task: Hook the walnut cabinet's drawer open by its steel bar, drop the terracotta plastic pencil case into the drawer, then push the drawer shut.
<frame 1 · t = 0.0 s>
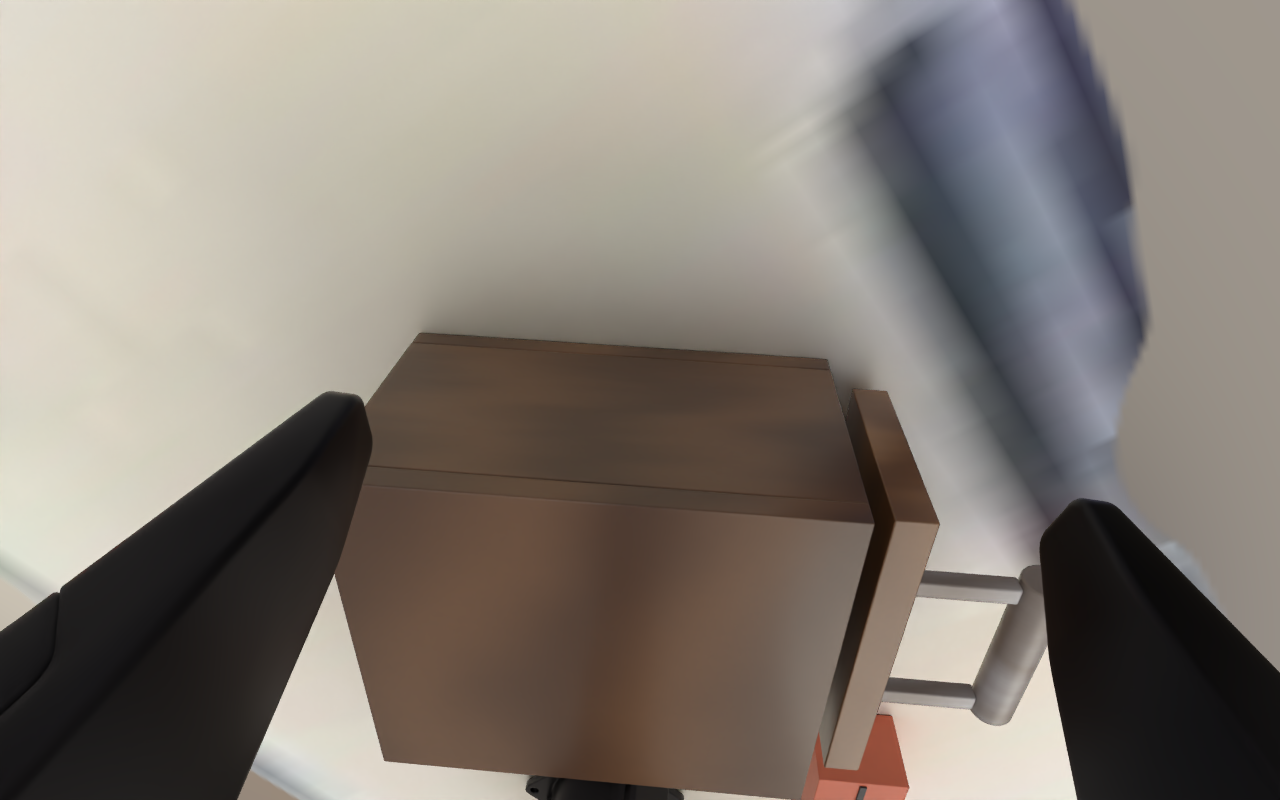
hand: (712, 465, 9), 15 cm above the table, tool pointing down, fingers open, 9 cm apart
drawer: (745, 571, 25), point 4 cm above the table, slide at 0.8 cm
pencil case: (838, 754, 38), on the table
cabinet: (617, 484, 29), on the table
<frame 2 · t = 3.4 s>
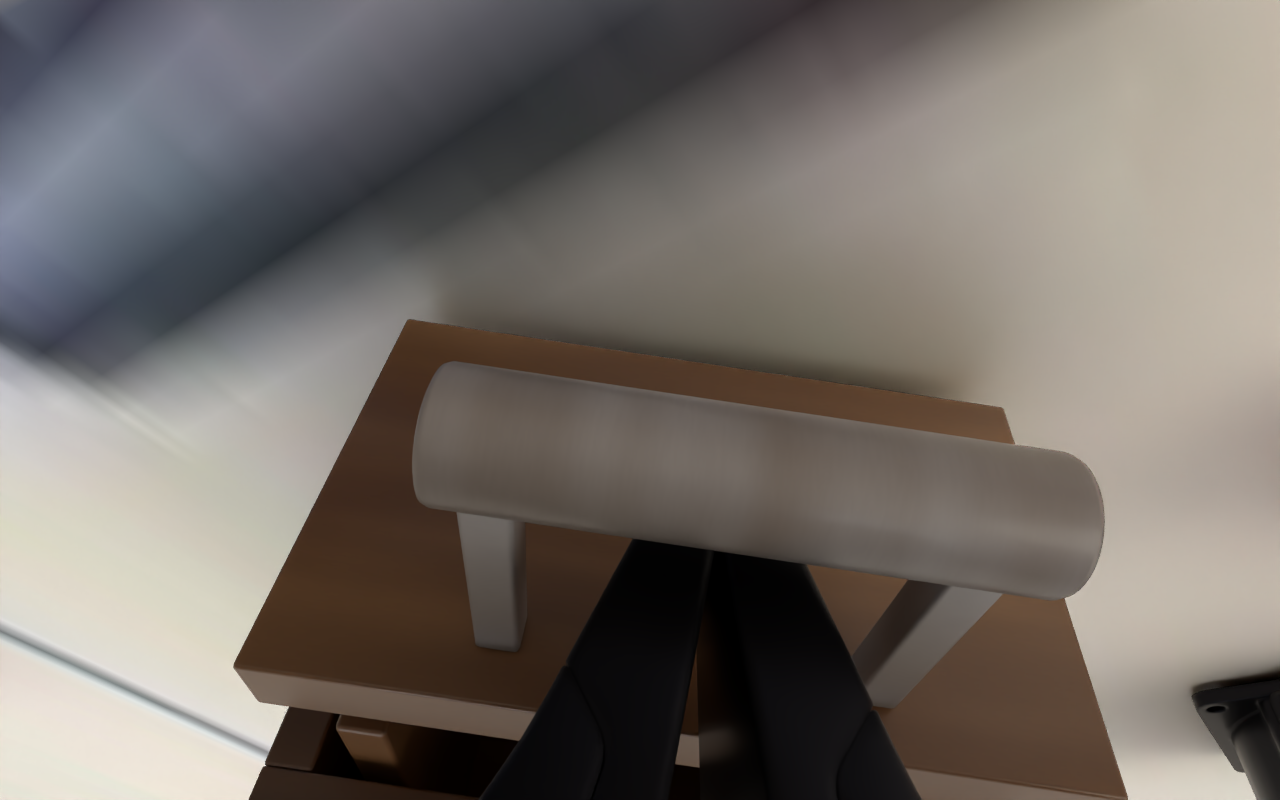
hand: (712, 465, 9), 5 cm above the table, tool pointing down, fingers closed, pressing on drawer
drawer: (661, 635, 15), point 4 cm above the table, slide at 2.6 cm, touching gripper
cabinet: (647, 600, 23), on the table
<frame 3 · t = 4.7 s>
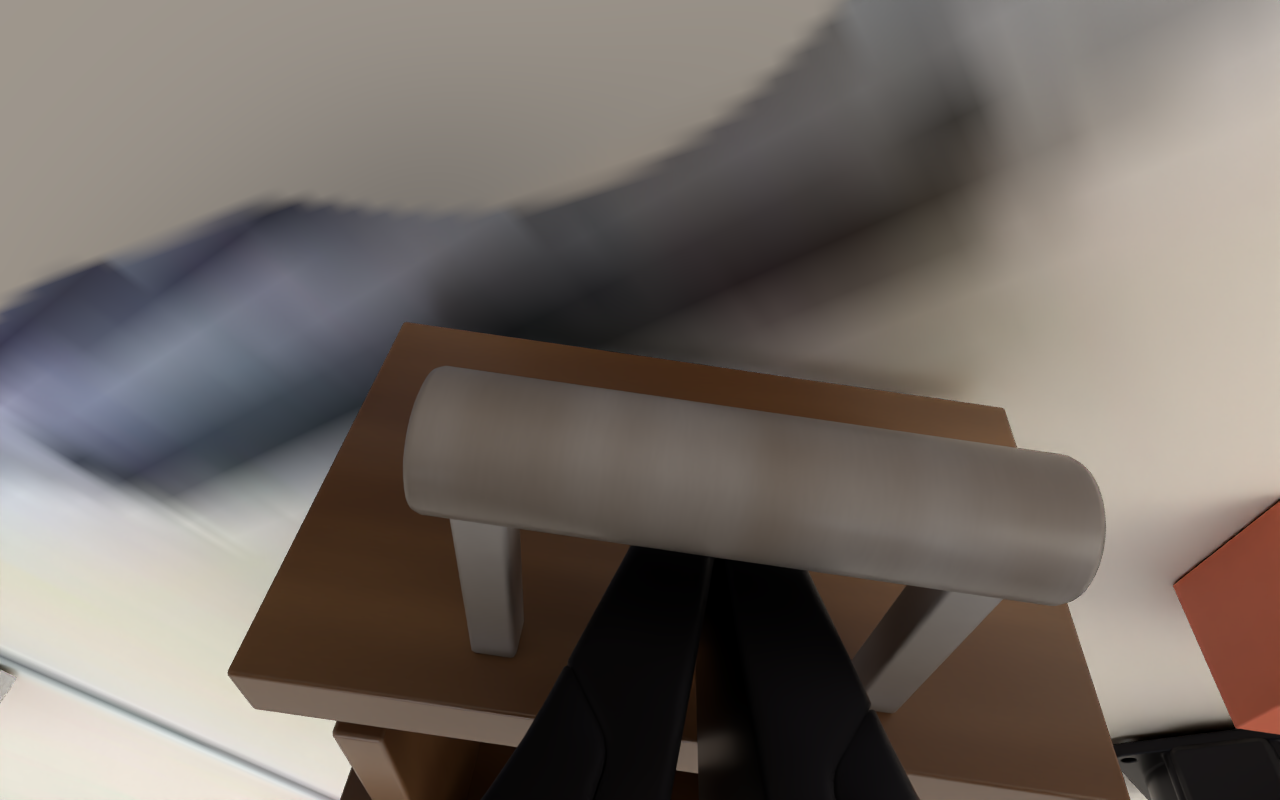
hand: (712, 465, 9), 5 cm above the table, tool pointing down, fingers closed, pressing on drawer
drawer: (660, 638, 15), point 4 cm above the table, slide at 7.4 cm, touching gripper
cabinet: (633, 666, 26), on the table
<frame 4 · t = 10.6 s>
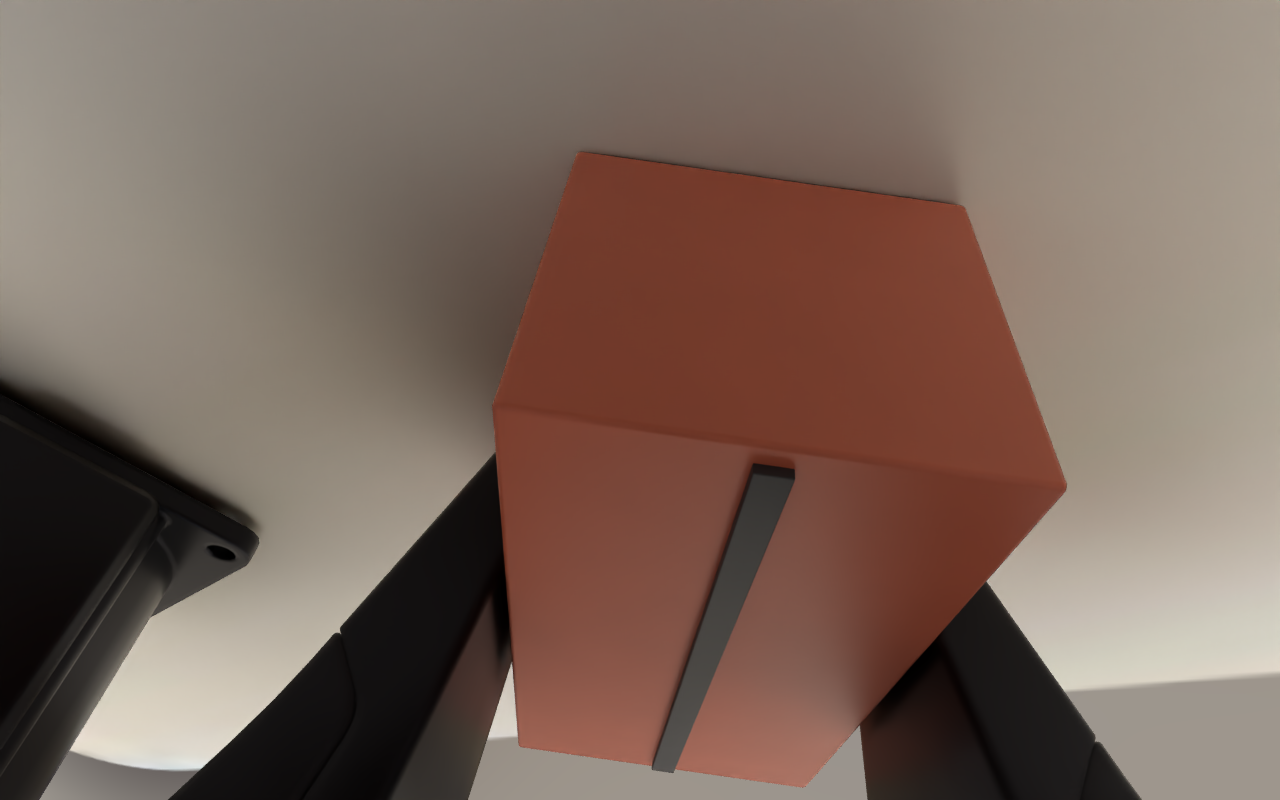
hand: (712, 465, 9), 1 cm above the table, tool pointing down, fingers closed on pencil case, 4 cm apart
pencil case: (713, 407, 10), on the table, touching gripper
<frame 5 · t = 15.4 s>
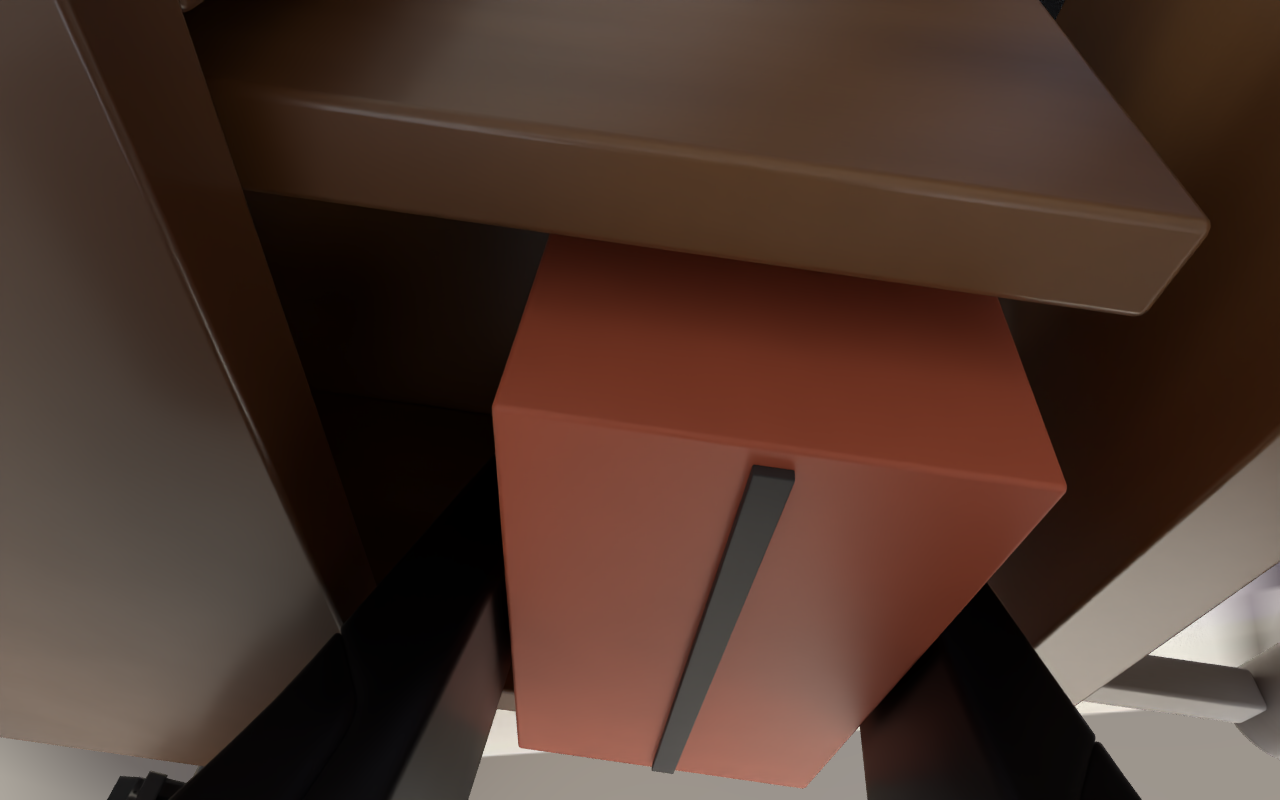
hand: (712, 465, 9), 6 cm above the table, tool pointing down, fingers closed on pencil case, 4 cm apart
drawer: (750, 381, 10), point 4 cm above the table, slide at 7.4 cm
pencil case: (713, 408, 10), point 5 cm above the table, touching gripper
cabinet: (124, 125, 13), on the table
when the fingers open (9 cm above the table, at t = 33.2 s): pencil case drops 6 cm, resting on drawer.
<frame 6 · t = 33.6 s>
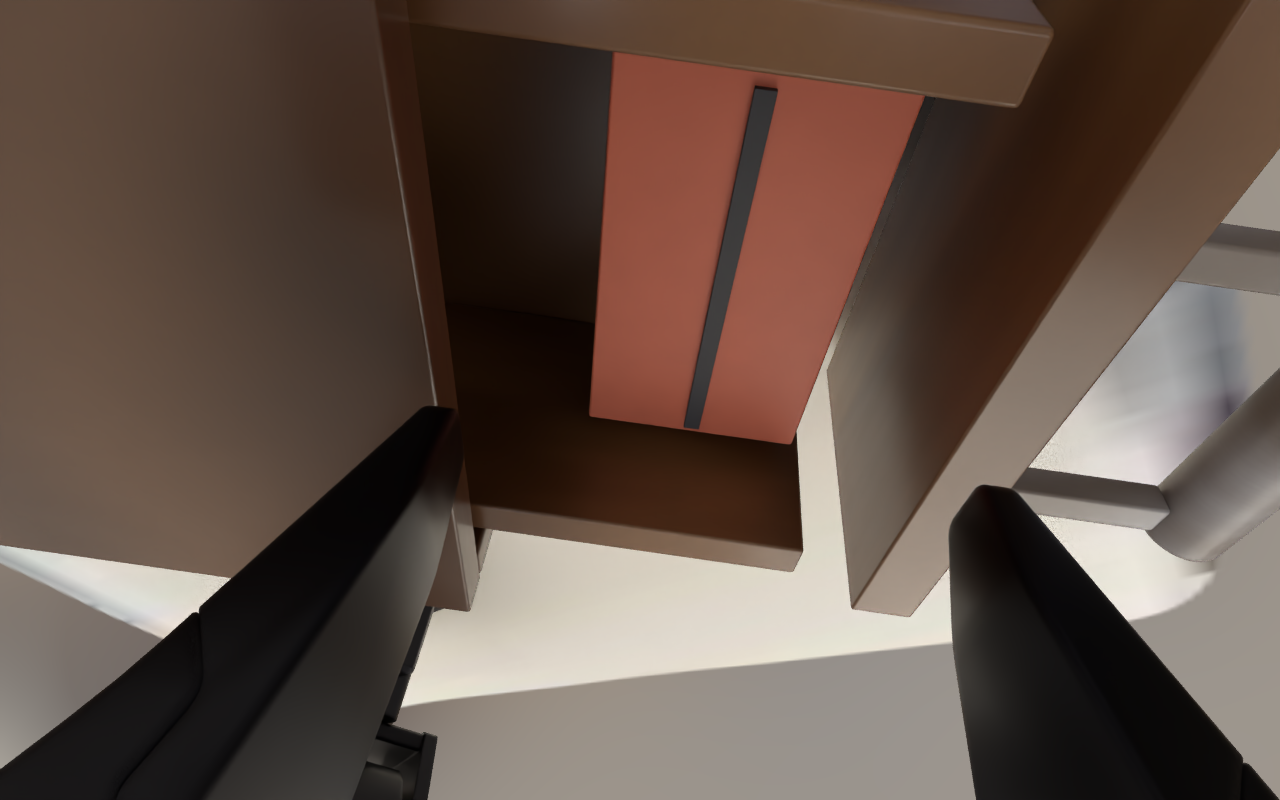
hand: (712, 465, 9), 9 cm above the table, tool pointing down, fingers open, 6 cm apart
drawer: (749, 248, 13), point 4 cm above the table, slide at 7.4 cm, touching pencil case
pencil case: (726, 175, 14), point 2 cm above the table, touching drawer
cabinet: (215, 55, 16), on the table
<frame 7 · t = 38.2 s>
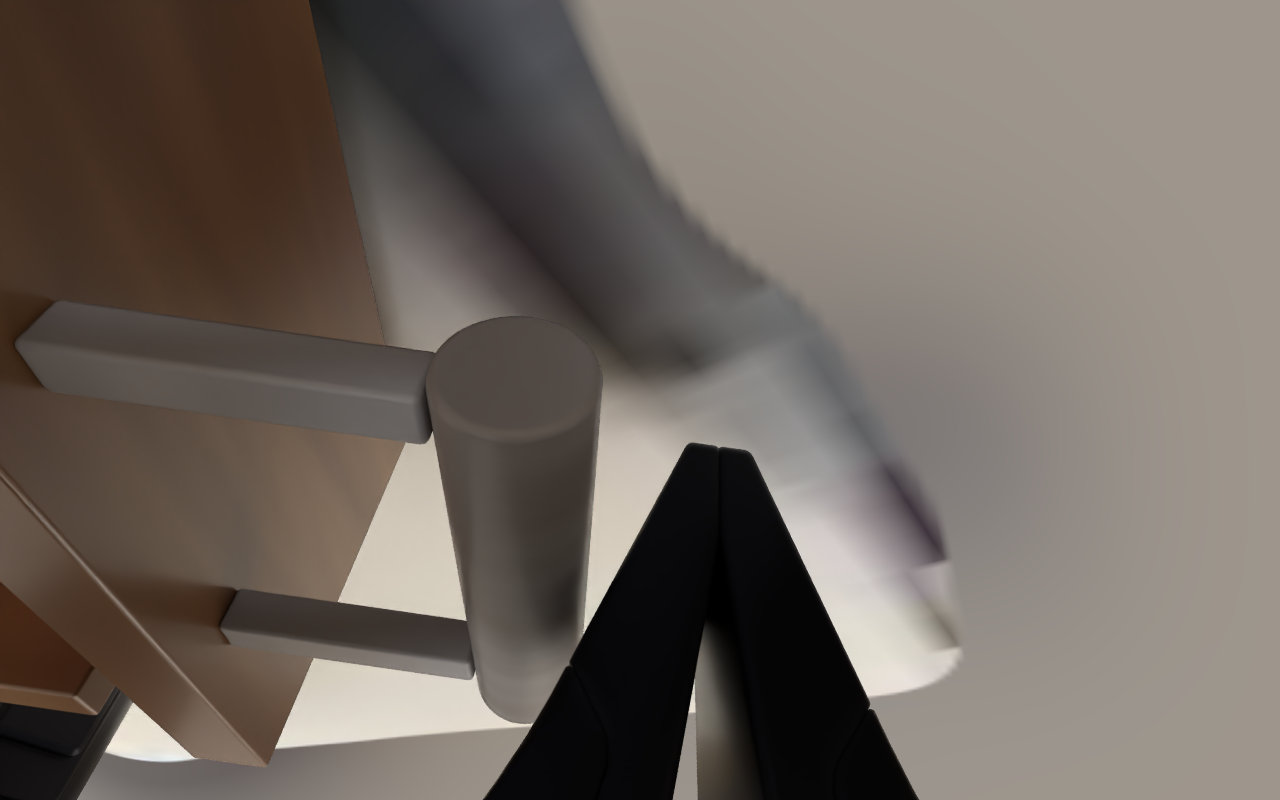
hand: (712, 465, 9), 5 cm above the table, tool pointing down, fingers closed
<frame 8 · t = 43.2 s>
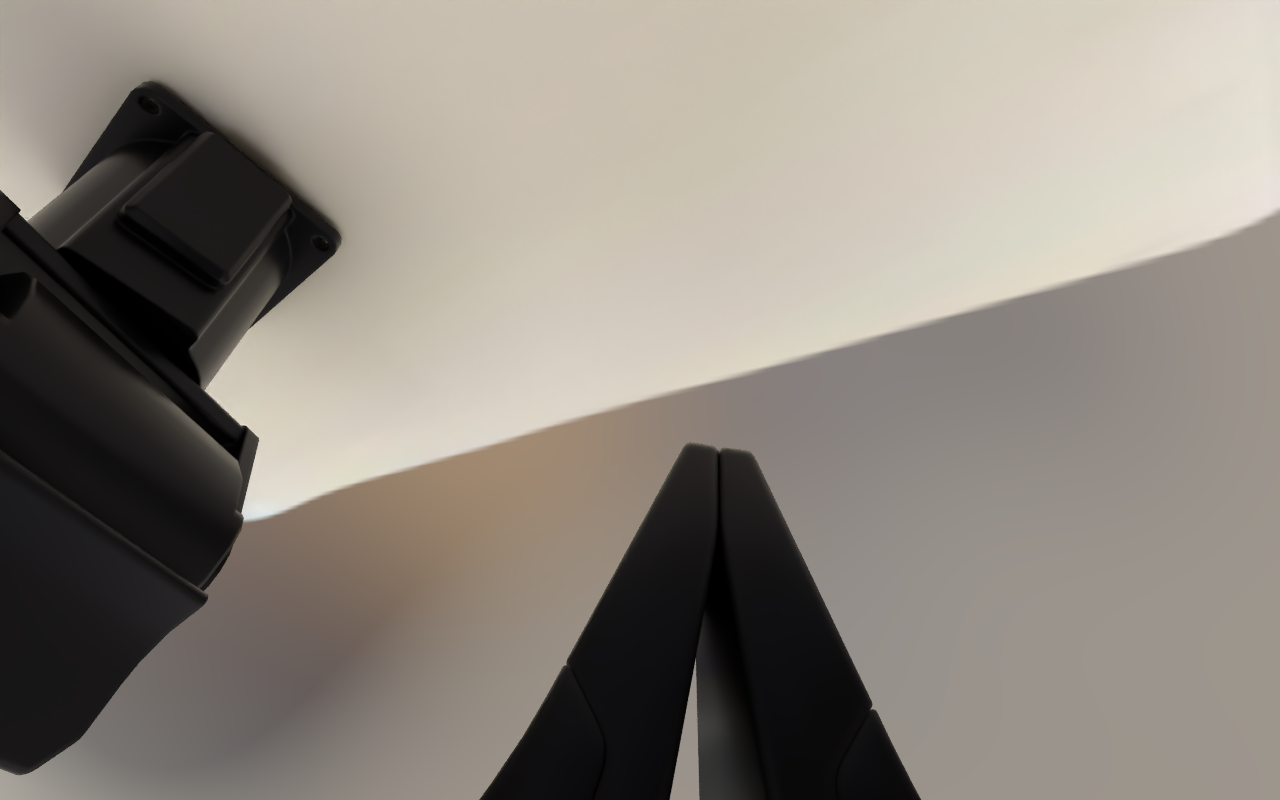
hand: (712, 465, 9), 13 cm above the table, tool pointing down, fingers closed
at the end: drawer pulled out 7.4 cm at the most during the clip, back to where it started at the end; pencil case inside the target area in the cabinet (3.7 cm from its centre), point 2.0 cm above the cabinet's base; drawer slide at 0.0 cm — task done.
